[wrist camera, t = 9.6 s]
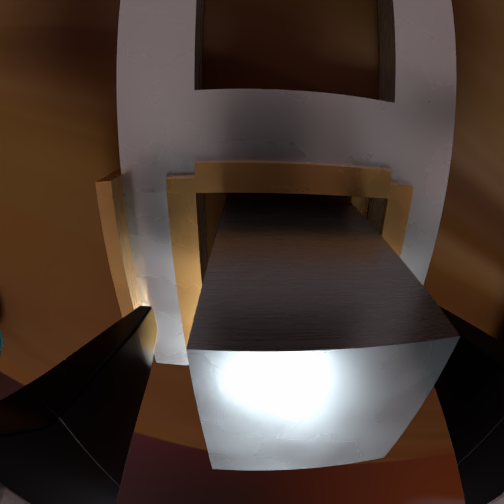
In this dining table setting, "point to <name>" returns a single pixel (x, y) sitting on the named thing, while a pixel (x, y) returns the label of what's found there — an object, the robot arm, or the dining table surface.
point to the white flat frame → (266, 150)
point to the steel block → (309, 339)
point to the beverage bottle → (1, 342)
